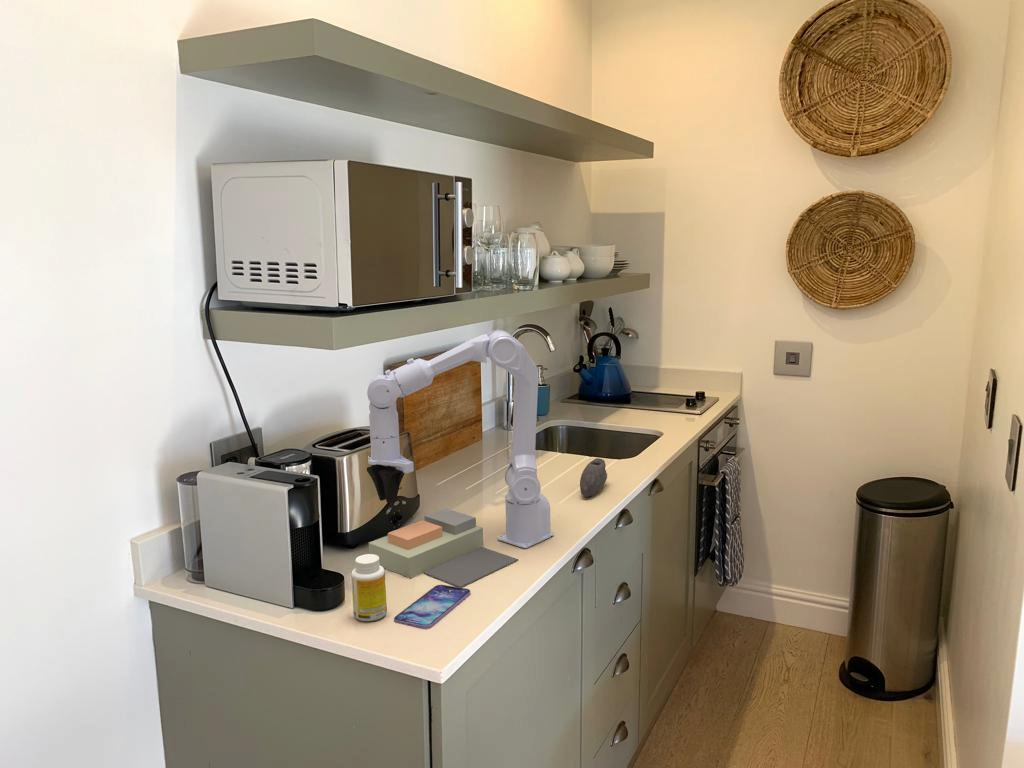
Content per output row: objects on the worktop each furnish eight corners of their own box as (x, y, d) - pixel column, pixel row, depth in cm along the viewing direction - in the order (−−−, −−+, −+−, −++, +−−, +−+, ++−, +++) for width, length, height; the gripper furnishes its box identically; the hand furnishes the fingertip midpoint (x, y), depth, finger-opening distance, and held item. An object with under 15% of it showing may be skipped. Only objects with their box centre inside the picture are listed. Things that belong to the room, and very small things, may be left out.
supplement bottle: (393, 615, 135) (390, 558, 133) (364, 626, 131) (361, 568, 129) (375, 604, 139) (372, 549, 137) (347, 614, 135) (344, 558, 134)
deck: (443, 532, 172) (442, 514, 171) (483, 546, 164) (482, 527, 163) (369, 561, 157) (368, 542, 156) (409, 578, 149) (408, 558, 149)
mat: (481, 548, 163) (481, 546, 163) (518, 560, 156) (518, 559, 156) (423, 573, 151) (423, 572, 151) (460, 588, 145) (460, 586, 145)
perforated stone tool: (593, 502, 189) (593, 474, 188) (572, 500, 191) (571, 472, 190) (610, 484, 203) (610, 458, 201) (590, 482, 205) (590, 456, 203)
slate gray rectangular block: (424, 525, 165) (424, 515, 165) (445, 517, 170) (445, 508, 169) (455, 535, 159) (454, 525, 159) (475, 526, 164) (475, 517, 163)
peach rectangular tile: (422, 529, 163) (422, 520, 163) (442, 536, 159) (442, 526, 159) (388, 542, 156) (387, 532, 156) (408, 550, 152) (407, 540, 152)
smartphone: (391, 619, 133) (437, 583, 146) (391, 624, 133) (438, 588, 146) (428, 626, 129) (472, 589, 143) (428, 631, 130) (473, 594, 143)
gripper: (346, 434, 161) (350, 498, 164) (392, 445, 151) (396, 513, 154) (373, 427, 166) (377, 489, 169) (420, 438, 157) (423, 503, 159)
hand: (388, 500), depth 162 cm, fingers closed
